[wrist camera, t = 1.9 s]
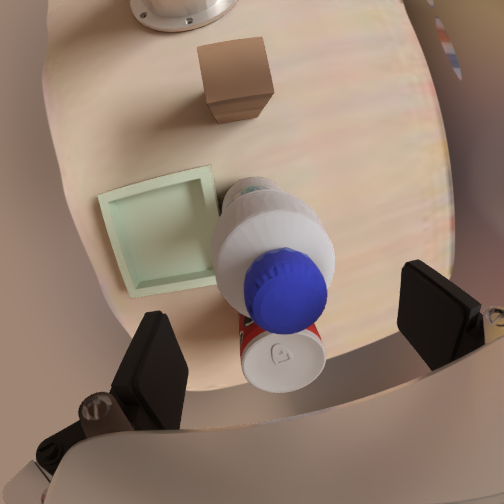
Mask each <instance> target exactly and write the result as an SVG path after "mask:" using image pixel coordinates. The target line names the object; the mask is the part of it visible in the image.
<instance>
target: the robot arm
mask: <svg viewBox="0 0 504 504" xmlns="http://www.w3.org/2000/svg"><path fill="white" fill-rule="evenodd" d="M237 1H238V0H130V7H131V11H132V13H133V14H134V16H135V17H136V19H137V20H138V21H139V22H140V23H142V24H143V25H144V26H146V27H148V28H151V29H153V30H158V31H164V32H179V31H186V30H191V29H196V28H199V27H202V26H205V25H207V24H209V23H211V22H214V21H216V20H217V19H219V18H220V17H222V16H224V15H225V14H226V13H227V12H228V11H230V10H231V9H232V8H233V6H234V5H235V4H236V3H237ZM189 23H191V24H189ZM480 308H481V304H480V303H479V302H478V301H476V300H475V299H474V298H472V297H471V296H470V295H468V294H467V293H466V292H464V291H463V290H462V289H460V288H459V287H458V286H456V285H455V284H454V283H452V282H451V281H449V280H448V279H447V278H445V277H444V276H442V275H441V274H440V273H438V272H437V271H435V270H434V269H432V268H431V267H429V266H428V265H426V264H425V263H424V262H422V261H421V260H418V259H417V260H413V261H409V262H406V263H405V265H404V267H403V268H402V272H401V287H400V299H399V309H398V317H397V326H398V329H399V330H400V331H401V333H402V334H403V335H404V336H405V338H406V339H407V340H408V341H409V342H410V344H411V345H412V346H413V347H414V349H415V350H416V351H417V352H418V354H419V355H420V356H421V357H422V359H423V360H424V361H425V363H426V364H427V365H428V366H429V368H430V369H431V370H432V372H430V373H428V374H425V375H423V376H421V377H418V378H416V379H414V380H412V381H409V382H406V383H404V384H401V385H399V386H396V387H393V388H391V389H388V390H385V391H383V392H380V393H377V394H374V395H371V396H368V397H365V398H362V399H358V400H355V401H352V402H349V403H345V404H342V405H338V406H335V407H331V408H327V409H323V410H319V411H315V412H310V413H306V414H301V415H297V416H292V417H287V418H281V419H276V420H270V421H264V422H257V423H250V424H242V425H234V426H224V427H212V428H199V429H180V422H181V415H182V409H183V403H184V397H185V391H186V385H187V379H188V366H187V363H186V361H185V359H184V356H183V354H182V352H181V349H180V347H179V344H178V342H177V339H176V337H175V334H174V332H173V329H172V327H171V324H170V321H169V319H168V316H167V315H166V314H163V313H162V312H161V311H153V312H146V313H145V315H144V317H143V319H142V321H141V323H140V325H139V327H138V329H137V331H136V333H135V335H134V337H133V339H132V341H131V343H130V346H129V347H128V349H127V351H126V354H125V356H124V358H123V360H122V362H121V364H120V366H119V369H118V371H117V373H116V375H115V378H114V380H113V382H112V384H111V386H112V388H111V390H110V392H109V393H108V392H97V393H94V394H91V395H90V396H88V397H87V398H85V399H84V401H82V403H81V405H80V406H79V410H78V415H79V419H80V420H79V421H77V422H75V423H74V424H72V425H70V426H68V427H67V428H65V429H63V430H61V431H60V432H58V433H56V434H55V435H52V436H51V437H49V438H47V439H45V440H44V441H43V442H42V443H41V444H40V445H39V446H38V449H37V452H36V460H37V461H36V462H34V461H33V460H31V461H30V462H29V463H28V464H27V465H26V466H25V467H24V468H23V469H22V470H21V471H19V473H17V474H16V475H15V476H14V477H13V478H12V479H11V480H10V481H9V482H8V483H7V484H6V485H5V487H4V490H3V499H4V501H5V503H6V504H504V308H502V307H498V306H491V307H488V308H486V309H485V310H484V312H483V314H481V313H480ZM179 429H180V430H179Z"/></svg>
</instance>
